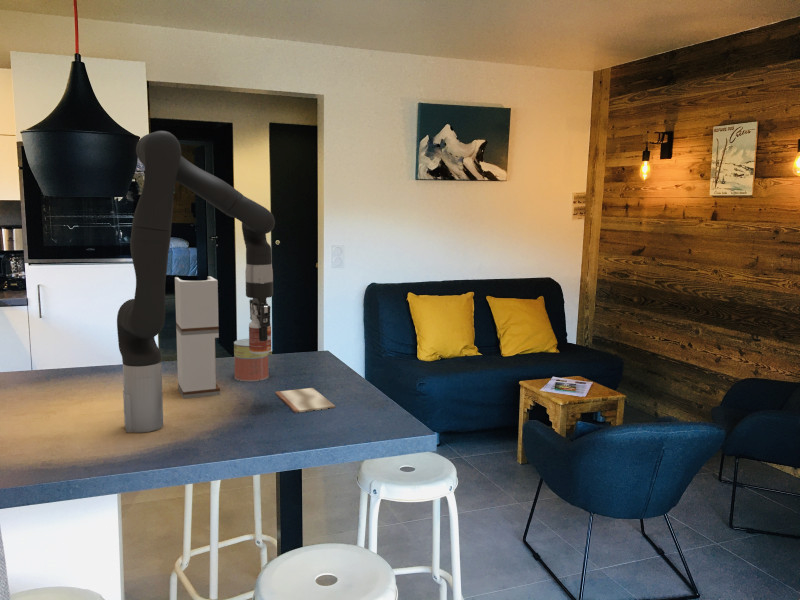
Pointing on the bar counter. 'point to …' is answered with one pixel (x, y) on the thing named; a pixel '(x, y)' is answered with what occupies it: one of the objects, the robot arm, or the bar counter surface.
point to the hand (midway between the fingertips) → (260, 338)
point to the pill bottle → (254, 342)
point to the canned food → (249, 363)
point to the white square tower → (196, 336)
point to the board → (304, 400)
